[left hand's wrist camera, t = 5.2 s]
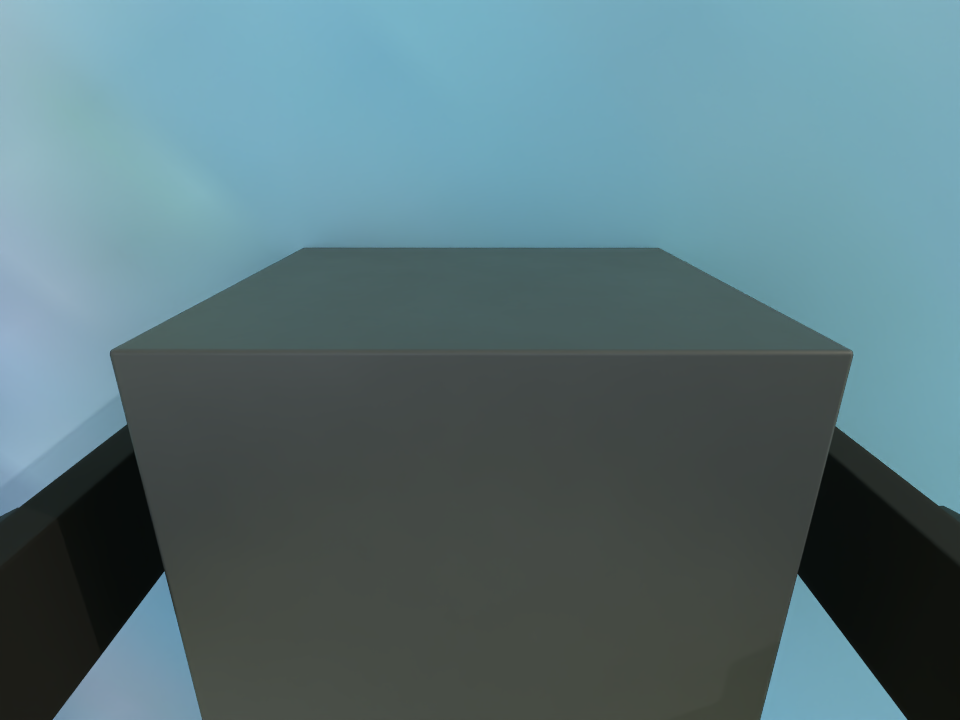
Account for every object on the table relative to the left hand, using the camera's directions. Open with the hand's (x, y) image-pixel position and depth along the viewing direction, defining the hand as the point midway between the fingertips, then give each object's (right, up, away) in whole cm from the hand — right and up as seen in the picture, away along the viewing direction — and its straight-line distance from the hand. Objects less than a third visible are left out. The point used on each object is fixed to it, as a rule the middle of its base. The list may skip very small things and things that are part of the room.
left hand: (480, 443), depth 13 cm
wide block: (0, -30, +13) cm, 33 cm away
